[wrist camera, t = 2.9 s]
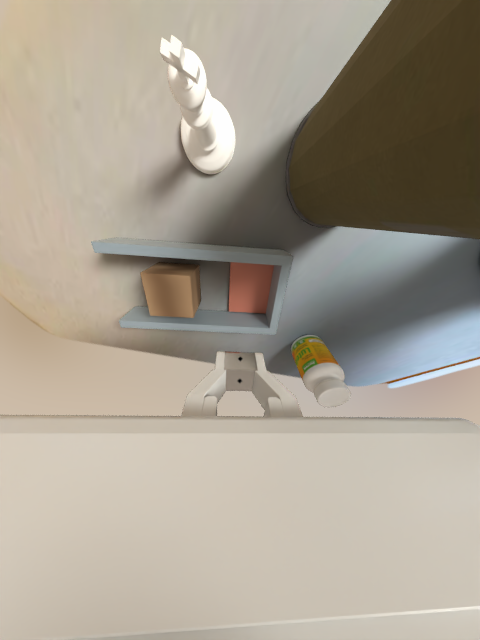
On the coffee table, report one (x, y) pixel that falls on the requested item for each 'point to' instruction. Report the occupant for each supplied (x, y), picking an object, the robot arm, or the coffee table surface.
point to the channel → (244, 293)
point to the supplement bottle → (320, 371)
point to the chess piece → (198, 110)
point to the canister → (398, 128)
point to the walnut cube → (172, 289)
